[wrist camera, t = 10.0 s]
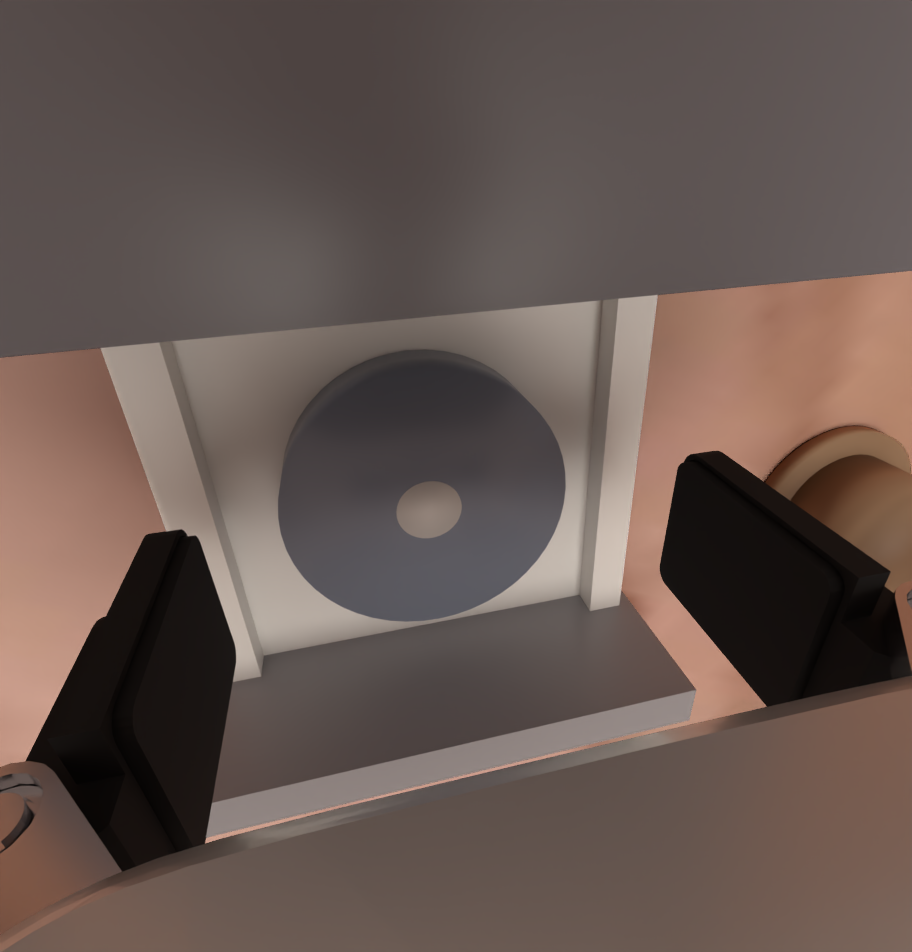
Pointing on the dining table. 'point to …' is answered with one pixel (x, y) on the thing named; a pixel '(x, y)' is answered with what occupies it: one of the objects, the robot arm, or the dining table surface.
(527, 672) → the disc tray
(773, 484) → the disc stand
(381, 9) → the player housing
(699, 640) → the dining table surface
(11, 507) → the dining table surface
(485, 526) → the game disc
